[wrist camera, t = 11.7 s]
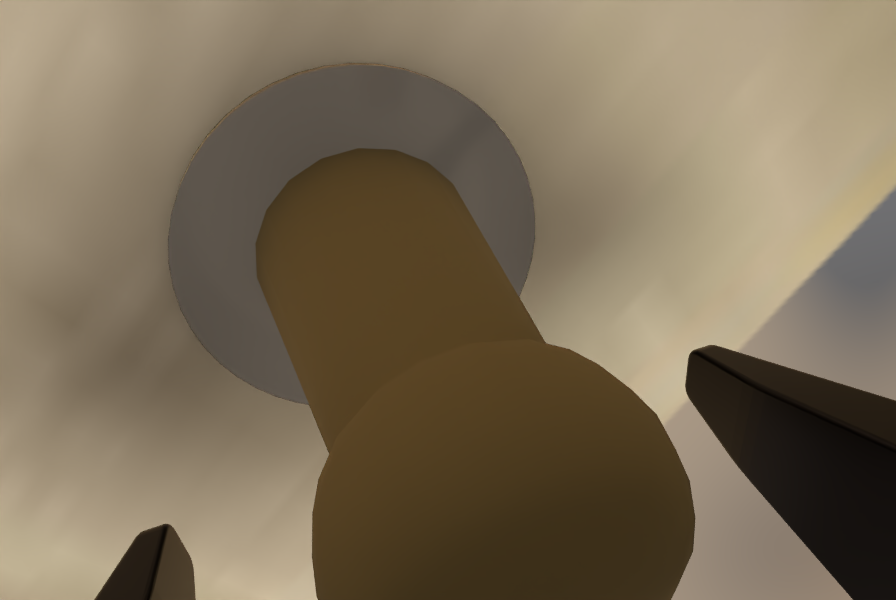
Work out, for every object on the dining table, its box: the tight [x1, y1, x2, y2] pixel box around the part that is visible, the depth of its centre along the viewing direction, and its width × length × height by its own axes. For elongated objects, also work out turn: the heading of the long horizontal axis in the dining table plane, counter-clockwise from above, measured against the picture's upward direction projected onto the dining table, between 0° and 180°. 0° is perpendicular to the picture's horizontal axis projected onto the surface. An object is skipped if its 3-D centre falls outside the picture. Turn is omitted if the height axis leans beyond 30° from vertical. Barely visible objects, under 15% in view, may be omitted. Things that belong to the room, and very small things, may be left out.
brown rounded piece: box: [255, 148, 695, 600], centre depth 11 cm, size 6×6×11 cm
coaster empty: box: [168, 63, 535, 405], centre depth 16 cm, size 10×10×1 cm
